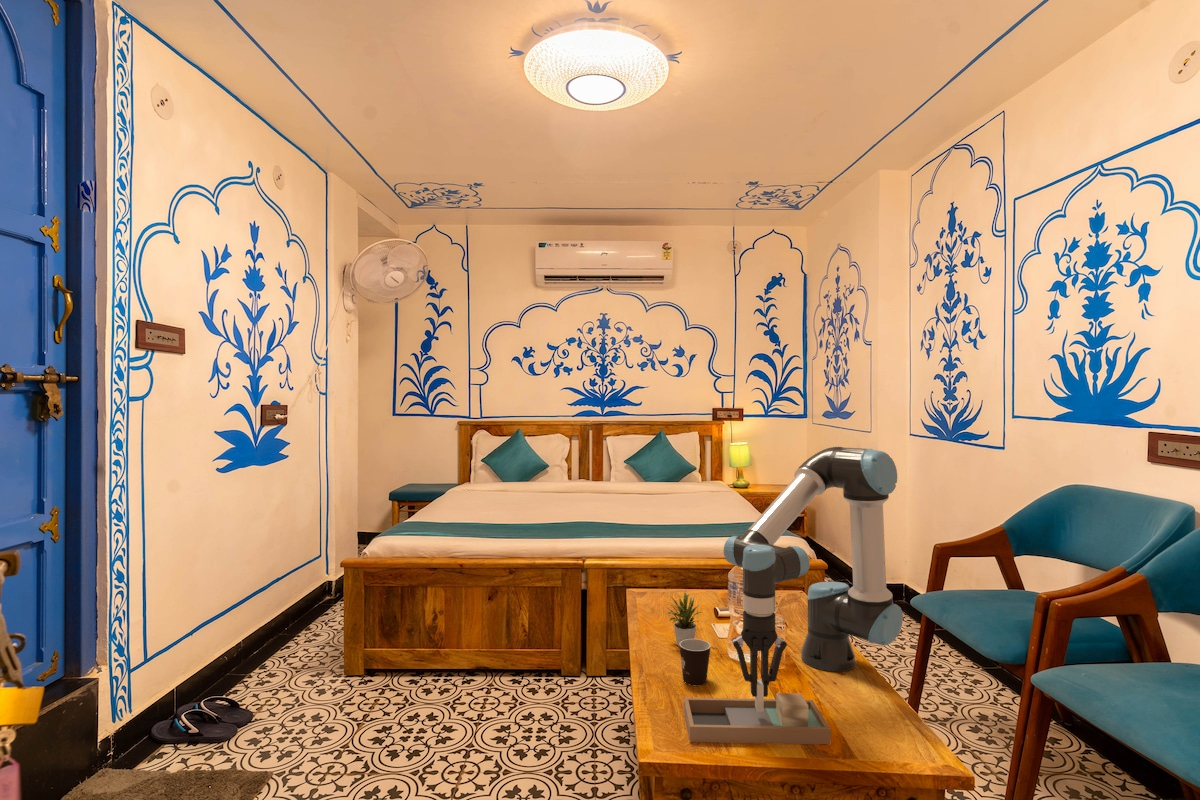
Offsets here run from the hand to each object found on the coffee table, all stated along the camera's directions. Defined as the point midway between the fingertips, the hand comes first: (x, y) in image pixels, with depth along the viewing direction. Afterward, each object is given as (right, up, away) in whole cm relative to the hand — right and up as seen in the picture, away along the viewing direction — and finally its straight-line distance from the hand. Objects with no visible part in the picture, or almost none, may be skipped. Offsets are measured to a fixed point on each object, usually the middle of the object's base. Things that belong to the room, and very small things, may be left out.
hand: (759, 709), depth 154 cm
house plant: (-12, -4, +51) cm, 53 cm away
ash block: (+8, -2, -1) cm, 8 cm away
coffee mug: (-12, -4, +26) cm, 29 cm away
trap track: (-1, -4, 0) cm, 5 cm away
